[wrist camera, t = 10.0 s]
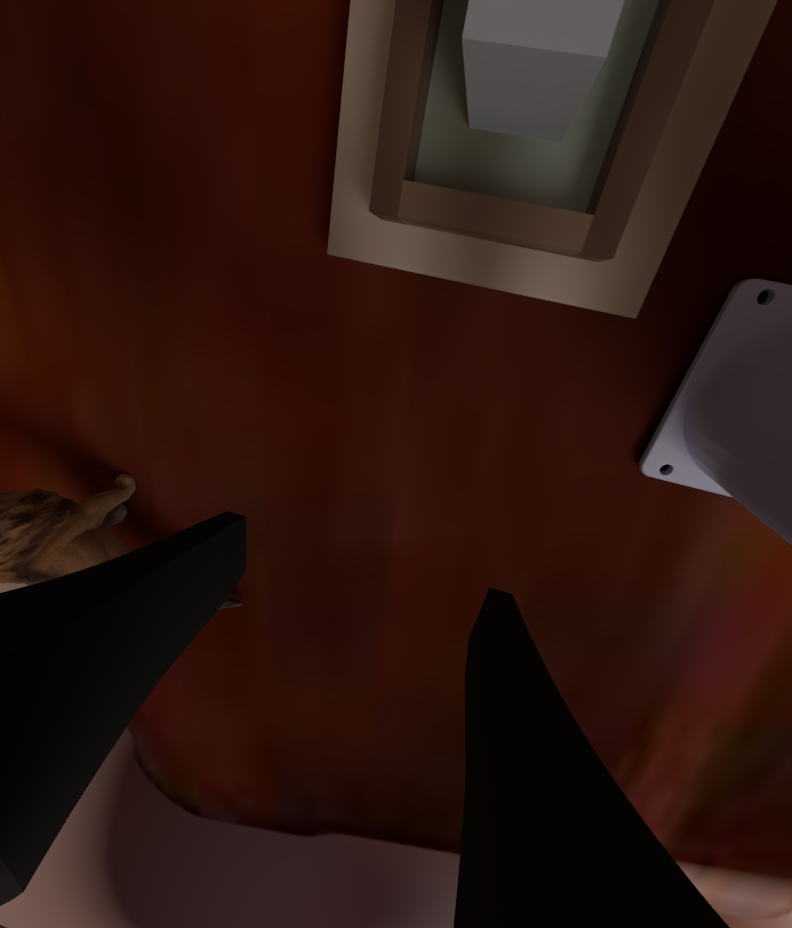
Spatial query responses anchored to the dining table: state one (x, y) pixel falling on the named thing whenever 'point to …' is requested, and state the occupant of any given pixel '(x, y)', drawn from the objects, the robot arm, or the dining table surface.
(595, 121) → the cradle jig
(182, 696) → the dining table surface
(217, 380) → the dining table surface
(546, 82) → the grey pillar with nub
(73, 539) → the lion figurine
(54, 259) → the dining table surface
